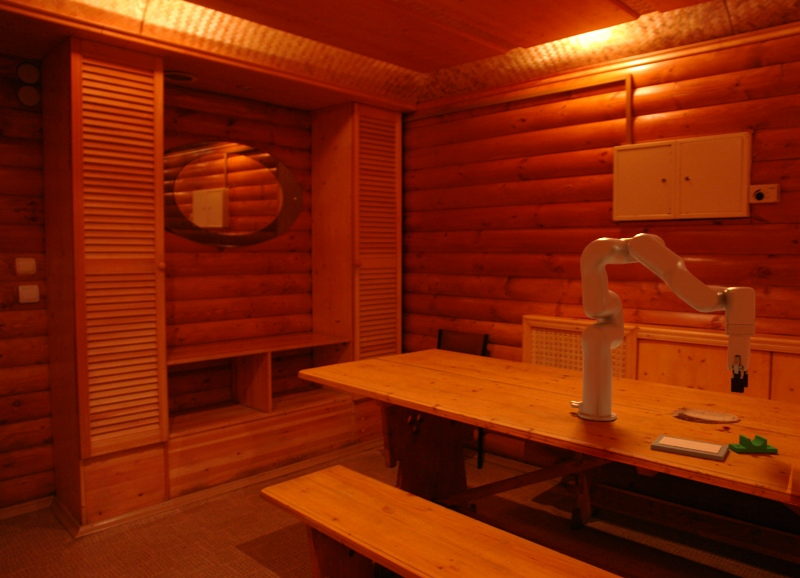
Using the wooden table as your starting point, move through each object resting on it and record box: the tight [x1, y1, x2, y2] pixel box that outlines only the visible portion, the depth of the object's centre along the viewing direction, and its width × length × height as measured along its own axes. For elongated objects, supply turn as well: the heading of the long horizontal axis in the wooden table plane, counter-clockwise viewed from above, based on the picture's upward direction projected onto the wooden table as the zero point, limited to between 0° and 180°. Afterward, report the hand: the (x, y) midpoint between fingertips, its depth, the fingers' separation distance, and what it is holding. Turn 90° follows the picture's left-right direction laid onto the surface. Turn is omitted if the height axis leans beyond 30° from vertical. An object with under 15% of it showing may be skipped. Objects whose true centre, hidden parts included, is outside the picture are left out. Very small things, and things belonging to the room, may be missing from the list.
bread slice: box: [670, 406, 741, 424], centre depth 202 cm, size 18×18×4 cm
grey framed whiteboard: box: [650, 434, 730, 462], centre depth 170 cm, size 18×12×1 cm, turn 55°
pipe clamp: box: [728, 434, 779, 454], centre depth 169 cm, size 11×4×5 cm
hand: (739, 389), depth 173 cm, fingers open, 9 cm apart
